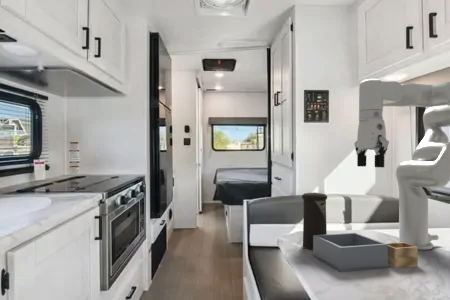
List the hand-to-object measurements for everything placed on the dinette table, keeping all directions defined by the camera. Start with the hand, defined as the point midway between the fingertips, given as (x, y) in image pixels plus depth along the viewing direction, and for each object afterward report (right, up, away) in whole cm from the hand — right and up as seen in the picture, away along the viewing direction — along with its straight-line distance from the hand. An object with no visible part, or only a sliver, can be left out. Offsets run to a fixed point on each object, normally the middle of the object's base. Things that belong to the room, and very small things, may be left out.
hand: (370, 166), depth 119 cm
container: (-17, -30, +9) cm, 36 cm away
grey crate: (-10, -30, -8) cm, 32 cm away
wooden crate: (+5, -30, -10) cm, 32 cm away
